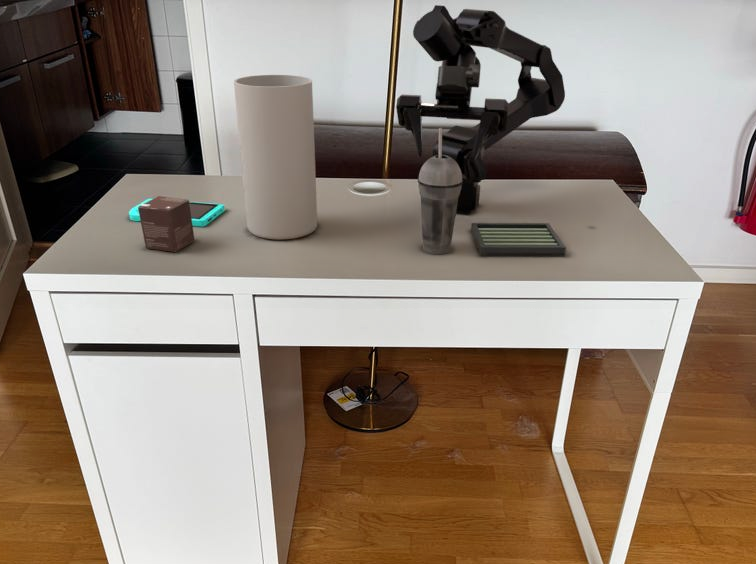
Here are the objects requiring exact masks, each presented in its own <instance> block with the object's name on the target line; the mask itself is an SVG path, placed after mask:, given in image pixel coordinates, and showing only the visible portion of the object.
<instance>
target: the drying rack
mask: <svg viewBox="0 0 756 564" xmlns="http://www.w3.org/2000/svg"><path fill="white" fill-rule="evenodd" d="M470 225H471V226H470V232H471V235H472V237H473V240H474V243H475V245H476V248H477V250H478V253H479V256H480V257H565V255H566V249H567V247H566V245H565V243H563V240H561V239H560V237H559V235H558V233H556V231H555V230H554V228H553V226H552V225H551V224H550V223H549V222H471V224H470Z"/></svg>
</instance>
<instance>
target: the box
mask: <svg viewBox="0 0 756 564" xmlns="http://www.w3.org/2000/svg"><path fill="white" fill-rule="evenodd" d="M151 199H152V200H150V201H148V202H146V203H144V204H142V205H140V206H139V207H138V210H139V215H140V220H141V221H140V225H141V230H142V235H143V240H144V241H143V242H144V246H145V249H150V250H159V251H167V252H173V253H178V251H180V250H182V249H184V248H185V247H187V246H188V245H190V244H191V243H193V242H194V241H195V240H196V239H195V234H194V226H193V225H192V219H191V212H190V206H189V202H190V200H189V199H185V198H178V197H177V198H176V197H169V196H160V195H158V196H156V197H154V198H151Z"/></svg>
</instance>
